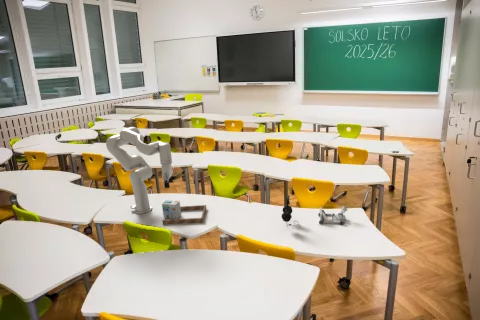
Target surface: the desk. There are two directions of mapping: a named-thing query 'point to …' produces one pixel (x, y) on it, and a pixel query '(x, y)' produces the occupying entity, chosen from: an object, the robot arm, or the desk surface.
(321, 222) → the toy car
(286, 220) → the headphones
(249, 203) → the desk surface
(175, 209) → the light bulb box
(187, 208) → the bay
